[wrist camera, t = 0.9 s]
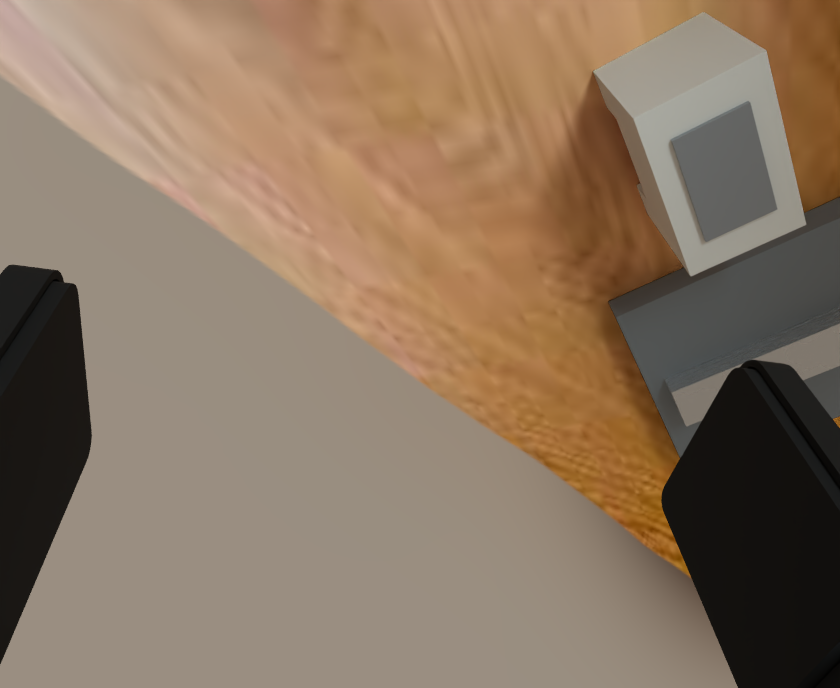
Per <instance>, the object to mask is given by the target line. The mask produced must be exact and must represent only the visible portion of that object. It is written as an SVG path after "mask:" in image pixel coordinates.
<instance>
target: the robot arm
mask: <svg viewBox="0 0 840 688" xmlns="http://www.w3.org/2000/svg"><path fill="white" fill-rule="evenodd" d="M91 437H92V434H91V422H90V412H89V402H88V390H87V380H86V370H85V359H84V350H83V339H82V328H81V317H80V307H79V297H78V291H77V287H76V285H75V284H72V283H64V281H63V277H62V275H61V273H60V272H59V271H58V270H51V269H42V268H35V267H27V266H19V265H9V266H8V267H6V268H5V270H3V272H2V273H1V274H0V664H1V661H2V659H3V657H4V654H5V652H6V650H7V647H8V645H9V643H10V640H11V638H12V635H13V633H14V631H15V628H16V626H17V624H18V621H19V618H20V616H21V614H22V612H23V610H24V607H25V605H26V603H27V600H28V598H29V595H30V593H31V591H32V588H33V586H34V584H35V581H36V579H37V577H38V574H39V572H40V569H41V567H42V565H43V563H44V560H45V558H46V555H47V553H48V551H49V548H50V546H51V544H52V541H53V539H54V537H55V534H56V532H57V530H58V527H59V525H60V523H61V520H62V518H63V515H64V513H65V511H66V508H67V506H68V504H69V501H70V499H71V497H72V494H73V492H74V490H75V487H76V485H77V482H78V480H79V478H80V475H81V473H82V471H83V468H84V466H85V464H86V461H87V459H88V456H89V452H90V447H91ZM662 508H663V511H664V514H665V516H666V519H667V521H668V523H669V526H670V528H671V530H672V533H673V535H674V537H675V540H676V542H677V545H678V547H679V549H680V552H681V554H682V556H683V559H684V561H685V563H686V566H687V568H688V571H689V573H690V575H691V578H692V580H693V582H694V585H695V587H696V589H697V592H698V594H699V596H700V599H701V601H702V604H703V606H704V608H705V611H706V613H707V615H708V618H709V620H710V622H711V625H712V627H713V630H714V632H715V634H716V637H717V639H718V641H719V644H720V646H721V648H722V651H723V653H724V656H725V658H726V660H727V662H728V665H729V667H730V670H731V672H732V674H733V677H734V679H735V682H736V684H737V686H738V688H840V428H839V427H838V426H837V424H836V423H835V422H834V420H833V419H832V418H831V417H830V415H829V414H828V413H827V411H826V410H825V409H824V407H823V406H822V405H821V403H820V402H819V401H818V399H817V398H816V397H815V396H814V394H813V393H812V392H811V390H810V389H809V388H808V386H807V385H806V384H805V382H804V381H803V380H802V378H801V377H800V376H799V375H798V373H797V372H796V371H795V369H793V368H792V367H791V366H790V365H787V364H783V363H776V362H768V361H760V360H748V361H746V362H745V363H743V364H742V365H741V366H740V367H739V368H735V369H733V370H732V371H731V372H730V373H729V374H728V376H727V378H726V380H725V381H724V383H723V385H722V386H721V388H720V390H719V392H718V393H717V395H716V397H715V399H714V400H713V402H712V404H711V406H710V407H709V409H708V411H707V413H706V414H705V416H704V418H703V420H702V421H701V423H700V425H699V427H698V428H697V430H696V432H695V434H694V435H693V437H692V439H691V441H690V442H689V444H688V446H687V448H686V449H685V451H684V453H683V455H682V456H681V458H680V460H679V462H678V463H677V465H676V467H675V469H674V470H673V472H672V474H671V476H670V477H669V479H668V481H667V483H666V484H665V486H664V489H663V492H662Z"/></svg>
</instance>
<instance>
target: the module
mask: <svg viewBox="0 0 840 688" xmlns="http://www.w3.org/2000/svg"><path fill="white" fill-rule="evenodd" d="M593 73H594V75H595V78H596V81H597V83H598V86H599V88H600V91H601V94H602V96H603V99H604V101H605V104H606V107H607V108H608V109H609V110H610V112H611V113H612V114H613V115H614V117H615V118H616V120H617V122H618V125H619V127H620V130H621V133H622V135H623V138H624V141H625V143H626V146H627V149H628V151H629V154H630V157H631V159H632V162H633V165H634V167H635V170H636V173H637V175H638V178H639V181H640V184H638V185H637V188H638V191H639V193H640V196H641V198H642V201H643V204H644V206H645V209H646V211H647V214H648V216H649V217H650V218H651V220H652V221H653V223H654V224H655V226H656V227H657V229H658V230H659V232H660V233H661V234H662V236H663V237H664V239H665V240H666V242H667V243H668V245H669V246H670V247H671V249H672V250H673V252H674V253H675V255H676V256H677V258H678V259H679V261H680V262H681V263H682V265H683V266H684V268H685V269H686V271H687V272H688V274H689V275H690V277H691V276H693V275H695V274H698V273H700V272H702V271H704V270H707V269H709V268H711V267H713V266H715V265H718V264H720V263H722V262H724V261H727V260H729V259H731V258H733V257H736V256H738V255H740V254H742V253H744V252H747V251H749V250H751V249H753V248H756V247H758V246H760V245H762V244H765V243H767V242H769V241H771V240H773V239H776V238H778V237H780V236H782V235H785V234H787V233H789V232H791V231H794V230H796V229H798V228H800V227H802V226H805V225H806V221H805V216H804V212H803V208H802V203H801V199H800V195H799V190H798V186H797V182H796V177H795V173H794V168H793V164H792V160H791V155H790V151H789V147H788V142H787V138H786V134H785V129H784V125H783V121H782V116H781V112H780V108H779V103H778V99H777V95H776V90H775V86H774V82H773V77H772V73H771V69H770V64H769V60H768V56H767V51H766V50H765V49H763V48H762V47H760V46H758V45H757V44H755V43H754V42H752V41H750V40H749V39H747V38H745V37H744V36H742V35H740V34H739V33H737V32H736V31H734V30H732V29H731V28H729V27H727V26H726V25H724V24H723V23H721V22H719V21H718V20H716V19H714V18H713V17H711V16H709V15H708V14H706V13H705V12H702V13H700V14H698V15H697V16H695V17H693V18H691V19H689V20H687V21H685V22H684V23H682V24H680V25H678V26H676V27H674V28H672V29H671V30H669V31H667V32H665V33H663V34H661V35H659V36H658V37H656V38H654V39H652V40H650V41H648V42H646V43H644V44H643V45H641V46H639V47H637V48H635V49H633V50H631V51H630V52H628V53H626V54H624V55H622V56H620V57H618V58H617V59H615V60H613V61H611V62H609V63H607V64H605V65H604V66H602V67H600V68H598V69H596V70H594V71H593Z"/></svg>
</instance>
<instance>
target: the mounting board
mask: <svg viewBox="0 0 840 688" xmlns="http://www.w3.org/2000/svg"><path fill="white" fill-rule="evenodd" d="M804 216H805V221H806V225H805V226H802V227H800V228H798V229H796V230H794V231H791V232H789V233H787V234H785V235H782V236H780V237H778V238H776V239H773V240H771V241H769V242H767V243H765V244H762V245H760V246H758V247H756V248H753V249H751V250H749V251H747V252H744V253H742V254H740V255H738V256H736V257H733V258H731V259H729V260H727V261H724V262H722V263H720V264H718V265H715V266H713V267H711V268H709V269H707V270H704V271H702V272H700V273H698V274H695V275H693V276H691V277H690V275H689V274H688V272H687V271H686V269H685V268H682V269H680V270H677V271H675V272H673V273H671V274H669V275H666V276H664V277H662V278H660V279H657V280H655V281H653V282H651V283H649V284H646V285H644V286H642V287H640V288H638V289H635V290H633V291H631V292H629V293H627V294H624V295H622V296H620V297H618V298H615V299H613V300H611V301H609V304H610V306H611V309H612V311H613V313H614V315H615V317H616V319H617V322H618V324H619V326H620V328H621V330H622V333H623V335H624V337H625V339H626V341H627V343H628V346H629V348H630V350H631V352H632V354H633V357H634V359H635V361H636V363H637V365H638V367H639V370H640V372H641V374H642V376H643V378H644V381H645V383H646V385H647V387H648V389H649V391H650V394H651V396H652V398H653V400H654V402H655V404H656V407H657V409H658V411H659V413H660V415H661V418H662V420H663V422H664V424H665V426H666V428H667V431H668V433H669V435H670V437H671V439H672V442H673V444H674V446H675V448H676V450H677V452H678V455H679V457H680V458H681V456H682V455H683V453H684V451H685V449H686V448H687V446H688V444H689V442H690V441H691V439H692V437H693V435H694V434H695V432H696V430H697V428H698V427H699V425H700V423H701V421H699V422H697V423H694V424H692V425H689V426H687V427H686V425H685V423H684V421H683V419H682V418H681V416H680V414H679V412H678V409H677V407H676V405H675V402H674V400H673V398H672V395H671V393H670V391H669V389H668V386H667V384H666V382H665V378H668V377H670V376H672V375H675V374H677V373H680V372H682V371H684V370H687V369H689V368H692V367H694V366H696V365H699V364H701V363H704V362H706V361H708V360H711V359H713V358H716V357H718V356H720V355H723V354H725V353H728V352H730V351H732V350H735V349H737V348H740V347H742V346H744V345H747V344H749V343H752V342H754V341H756V340H759V339H761V338H764V337H766V336H768V335H771V334H773V333H776V332H778V331H780V330H783V329H785V328H788V327H790V326H792V325H795V324H797V323H800V322H802V321H805V320H807V319H809V318H812V317H814V316H817V315H819V314H821V313H824V312H826V311H829V310H831V309H833V308H836V307H838V306H840V197H839V198H837V199H834V200H832V201H830V202H828V203H826V204H823V205H821V206H819V207H817V208H815V209H812V210H810V211H808V212H806V213H804ZM803 381H804V382H805V384H806V385H807V386H808V388H809V389H810V390H811V392H812V393H813V394H814V396H815V397H816V398H817V399H818V401H819V402H820V403H821V405H822V406H823V407H824V409H825V410H826V411H827V413H828V414H829V415H830V417H831V418H832V419H834V418H836V417H839V416H840V366H838V367H835V368H833V369H830V370H828V371H825V372H823V373H820V374H818V375H815V376H813V377H810V378H808V379H805V380H803Z"/></svg>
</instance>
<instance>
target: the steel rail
mask: <svg viewBox="0 0 840 688" xmlns="http://www.w3.org/2000/svg"><path fill="white" fill-rule="evenodd" d="M748 360H760V361H768V362H776V363H783V364H787V365H790V366H791V367H792V368H793V369H795V371H796V372H797V373H798V375H799V376H800V377H801V378H802V380H805V379H808V378H810V377H813V376H815V375H818V374H820V373H823V372H825V371H828V370H830V369H833V368H835V367H838V366H840V306H838V307H836V308H833V309H831V310H829V311H826V312H824V313H821V314H819V315H817V316H814V317H812V318H809V319H807V320H805V321H802V322H800V323H797V324H795V325H792V326H790V327H788V328H785V329H783V330H780V331H778V332H776V333H773V334H771V335H768V336H766V337H764V338H761V339H759V340H756V341H754V342H752V343H749V344H747V345H744V346H742V347H740V348H737V349H735V350H732V351H730V352H728V353H725V354H723V355H720V356H718V357H716V358H713V359H711V360H708V361H706V362H704V363H701V364H699V365H696V366H694V367H692V368H689V369H687V370H684V371H682V372H680V373H677V374H675V375H672V376H670V377H668V378H665V382H666V384H667V386H668V389H669V391H670V393H671V395H672V398H673V400H674V402H675V405H676V407H677V409H678V412H679V414H680V416H681V418H682V419H683V421H684V423H685V425H686V427H687V426H689V425H692V424H694V423H697V422H699V421H702V420H703V418H704V416H705V414H706V413H707V411H708V409H709V407H710V406H711V404H712V402H713V400H714V399H715V397H716V395H717V393H718V392H719V390H720V388H721V386H722V385H723V383H724V381H725V380H726V378H727V376H728V374H729V373H730V372H731V371H732V370H733V369H735V368H739V367H740V366H741V365H742V364H743V363H745V362H746V361H748Z"/></svg>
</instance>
